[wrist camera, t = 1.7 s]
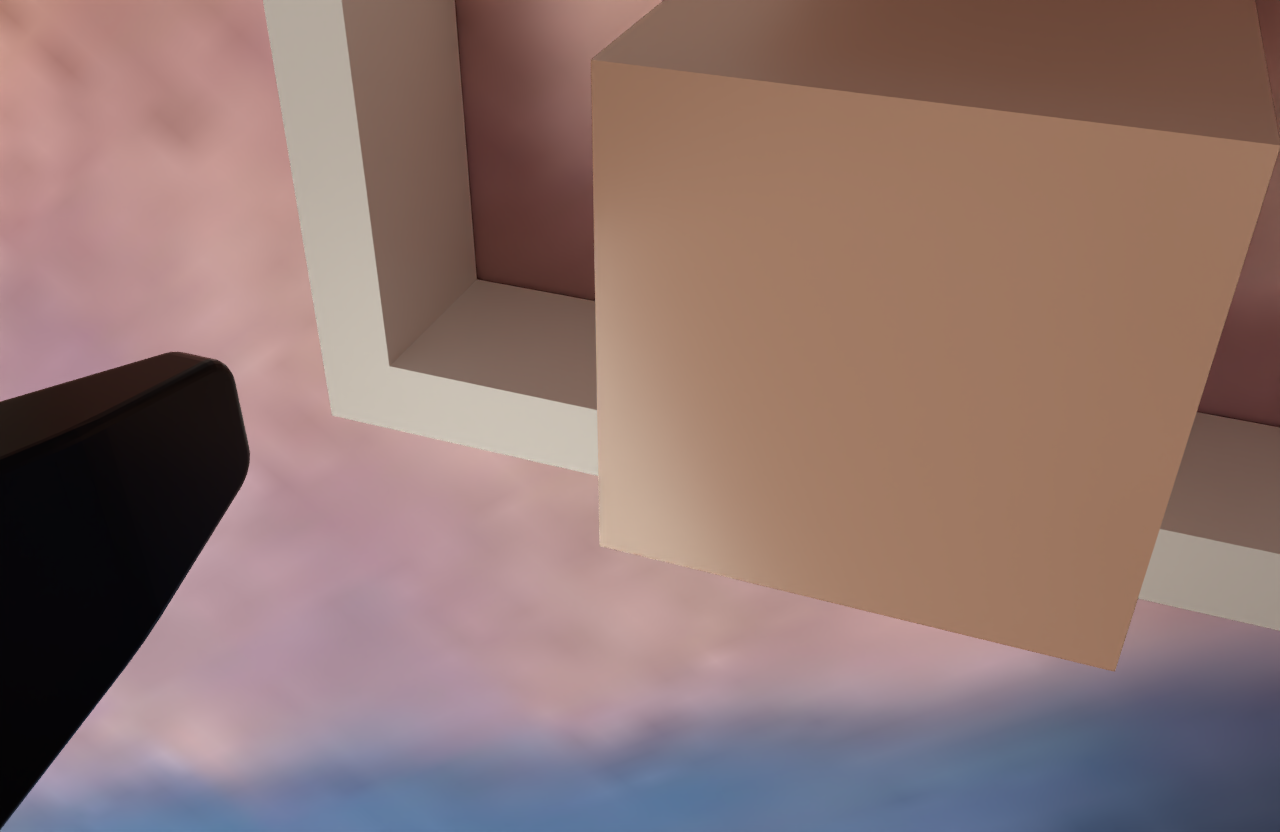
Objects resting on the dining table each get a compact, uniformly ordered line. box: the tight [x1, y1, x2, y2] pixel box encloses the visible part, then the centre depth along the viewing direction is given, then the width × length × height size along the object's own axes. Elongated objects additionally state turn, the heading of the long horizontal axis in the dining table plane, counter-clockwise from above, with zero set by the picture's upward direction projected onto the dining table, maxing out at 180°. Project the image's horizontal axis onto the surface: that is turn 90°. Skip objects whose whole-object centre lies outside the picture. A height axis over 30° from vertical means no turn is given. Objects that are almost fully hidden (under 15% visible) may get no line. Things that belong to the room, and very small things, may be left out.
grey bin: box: [263, 0, 1280, 631], centre depth 13 cm, size 15×8×2 cm, turn 90°
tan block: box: [591, 0, 1280, 672], centre depth 12 cm, size 4×4×6 cm
